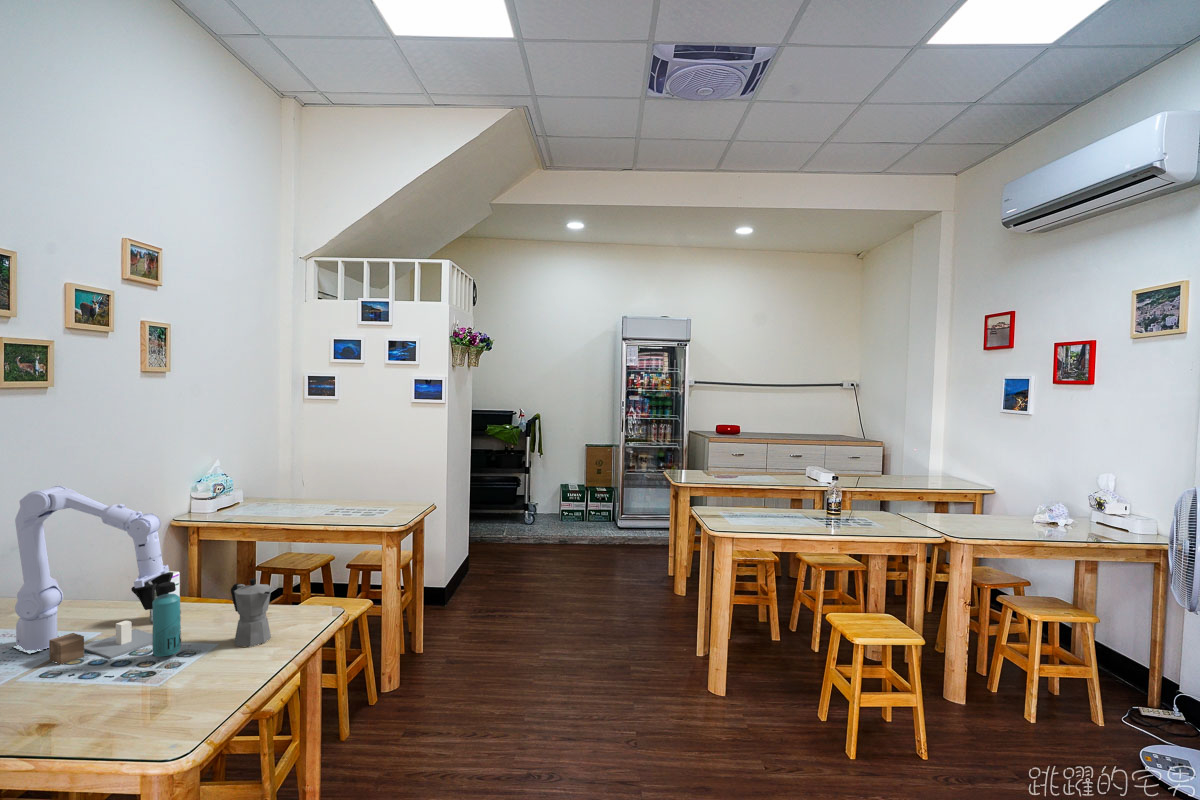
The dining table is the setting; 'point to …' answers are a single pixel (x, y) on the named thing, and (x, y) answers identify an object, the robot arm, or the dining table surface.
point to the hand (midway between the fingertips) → (156, 604)
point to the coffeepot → (251, 613)
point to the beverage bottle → (166, 621)
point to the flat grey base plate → (121, 641)
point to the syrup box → (177, 584)
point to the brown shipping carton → (66, 648)
